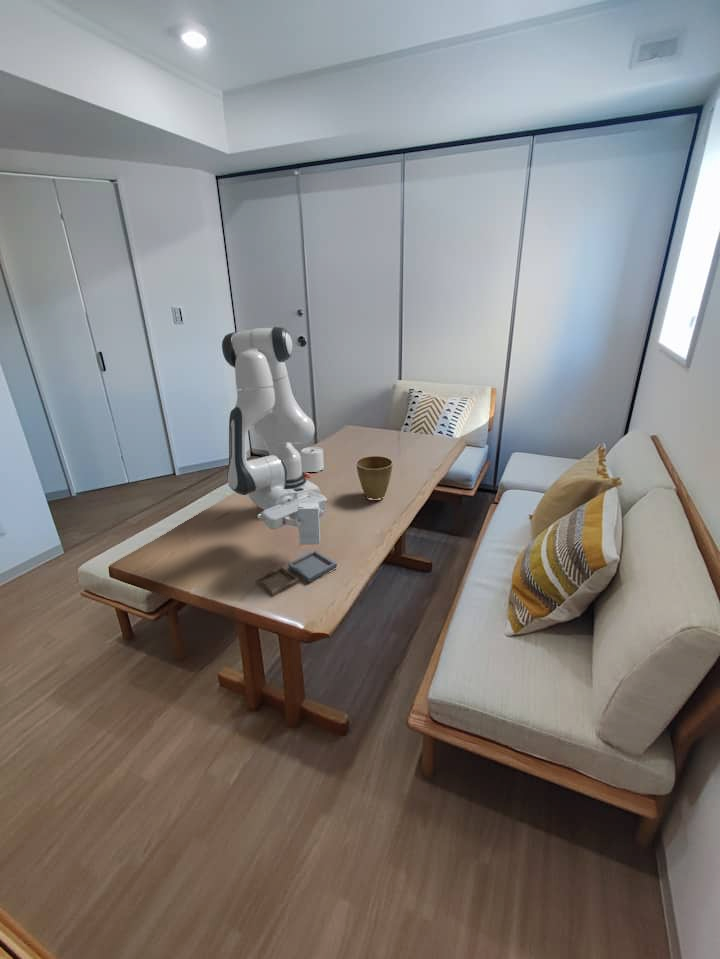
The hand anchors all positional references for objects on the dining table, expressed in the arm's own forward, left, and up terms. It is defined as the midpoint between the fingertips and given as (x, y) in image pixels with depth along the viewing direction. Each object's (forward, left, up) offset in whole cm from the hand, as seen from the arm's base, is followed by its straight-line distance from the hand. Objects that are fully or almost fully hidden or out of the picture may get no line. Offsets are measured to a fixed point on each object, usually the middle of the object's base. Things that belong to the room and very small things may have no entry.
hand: (310, 519), depth 124 cm
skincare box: (0, -1, -8) cm, 8 cm away
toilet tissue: (-53, -67, -18) cm, 87 cm away
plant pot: (-51, -23, -18) cm, 58 cm away
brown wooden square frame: (+11, -3, -18) cm, 21 cm away
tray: (0, -1, -18) cm, 18 cm away
